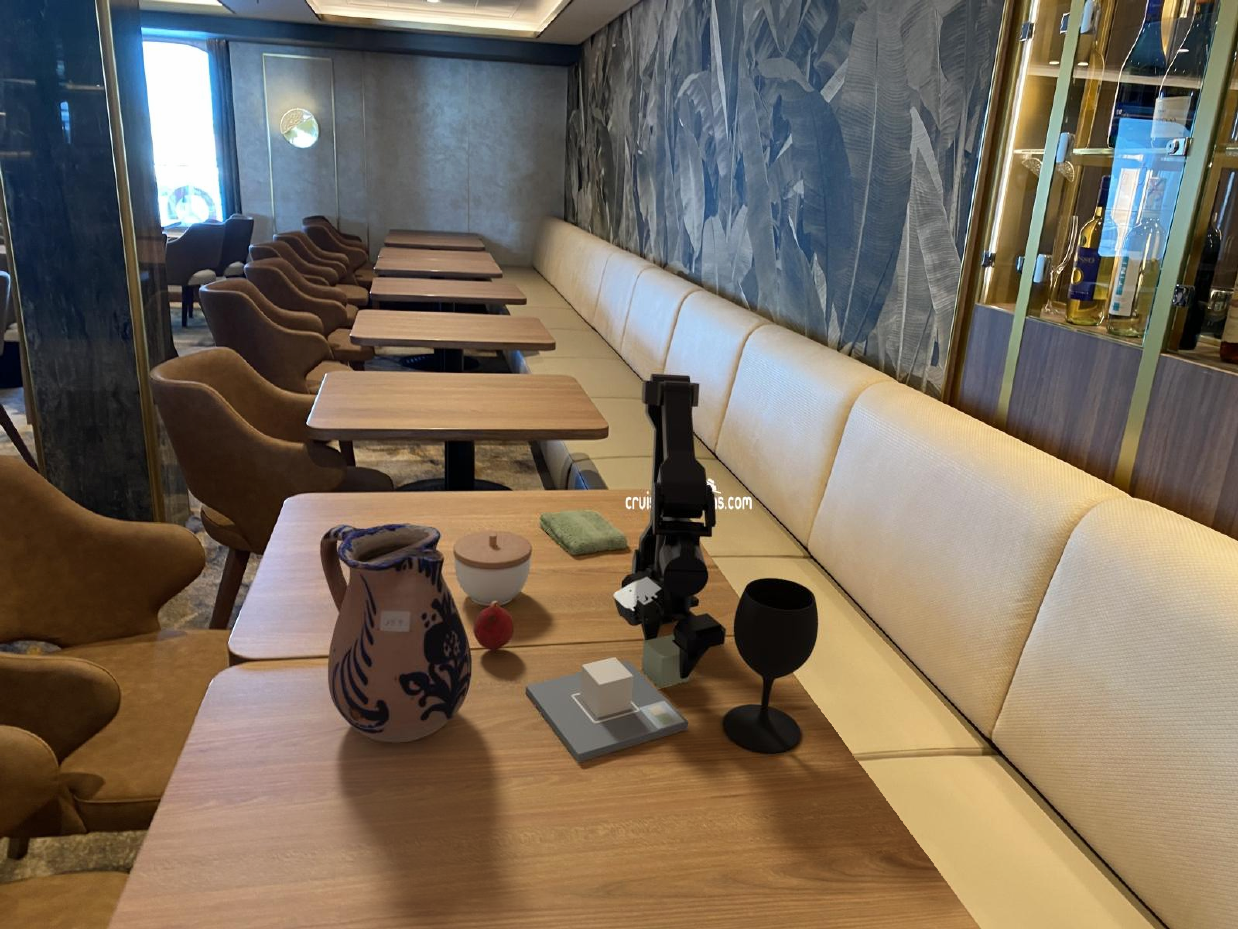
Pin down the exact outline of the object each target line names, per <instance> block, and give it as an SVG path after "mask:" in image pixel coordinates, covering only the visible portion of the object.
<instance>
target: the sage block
mask: <svg viewBox="0 0 1238 929" xmlns="http://www.w3.org/2000/svg"><path fill="white" fill-rule="evenodd" d="M672 640H675V637H674V634H668V635H665V636H660V637H657V638H655V639H651V640H646V641H645V640H643V646H642V647H643V648H642V657H641V658H642V659H641V660H642V661H641V672H642V671H643V672H644V673H645V674H646V675H647V676H646V675H645V674H644V673H643V672H642V673H643V674H644V675H645V676H646V677H647V678H648V679H649V678H650V679H649V680H650V682H652V681H653V682H654V683H655V684H656V685H657V686H658V687H657V686H656V685H655V684H654V683H653V682H652V683H653V684H654V685H655V686H656V687H657V688H658V689H659V688H661V689H664V688H663V687H665V688H667V687H666V686H669V687H671V686H670V685H673V686H675V685H674V684H676V685H679V684H678V683H680V684H682V682H684V683H687V682H686V681H688V682H690V677H691V676H690V675H691V674H690V675H689V676H688V677H687V678H684V679H681V678H680V671H679V647H678V646H677V645H675V644H674V643H673V642H672Z"/></svg>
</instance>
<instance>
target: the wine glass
mask: <svg viewBox="0 0 1238 929" xmlns="http://www.w3.org/2000/svg"><path fill="white" fill-rule="evenodd" d="M818 632H819V613H818V606H817V600H816V596H815V594H814V593H813V591H812V590H811V589H809V588H808V587H806V586H805V585H802V584H801V583H798V582H796V581H792V580H789V579H783V578H776V577H764V578H758V579H755V580H751V581H750V582H749V583H747V585H746V586H745V588H744V589H743V591H742V593H741V596H740V598H739V601H738V603H737V607H736V611H735V614H734V620H733V638H734V643H735V646H736V649H737V651H738V653H739V656H740V657H741V658H742V661H744V662H745V664H746V665H747V666H748V667H749V668H750V669H751V670H752V671H753V672H755V673H756V674H757V675H759V676H760V677H762V694H761V695H762V696H761V700H760V701H761V702H760V704H756V703H755V704H754V703H750V704H748V703H747V704H742V705H738V706H735V707H733V708H731V709H729V710H728V711H727V712H726V713H725V715H724V717H723V718H722V729H723V731H724V735H725V736H726V737H727V738H728V739H729V740H730V741H731V742H732V743H734V744H735V745H736V746H737V747H740V748H741V749H744V750H746V751H750V752H753V753H757V754H762V755H780V754H784V753H788V752H789V751H790V752H791V750H793V749H795V748H796V747H797V746H798V745H799V744H800V741H801V740H802V729H801V727H800V725H799V724H798V723H797V721H796V720H795V719H794V718H793V717H792V716H791V715H790V714H788V713H786V712H785V711H782V710H781V709H779V708H775V707H773V706H769V704H770V697H771V692H772V687H773V684H774V681H775V680H777V679H781V678H783V677H786V676H788V675H791V674H793V673H794V672H796V671H797V670H799V669H801V668H802V666H803V665H804V664H805V663H806V662H807V661H808V660H809V658H810V657H811V655H812V653H813V651H814V649H815V647H816V643H817V640H818Z"/></svg>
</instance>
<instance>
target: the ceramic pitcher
mask: <svg viewBox="0 0 1238 929" xmlns="http://www.w3.org/2000/svg"><path fill="white" fill-rule="evenodd" d="M441 536H442V535H441V533H440V531H439V529H437V528H436V527H432V526H426V525H419V524H411V523H407V522H406V523H389V524H388V523H387V524H384V525H376V526H372V527H368V528H358V527H354V526H353V525H350V524H349V525H348V524H338V525H336V526H333V527H331V528H330V529H329V530H328V531H326V532H325V534H324V535H323V536H322V538H321V540H320V543H319V544H320V546H319V548H320V549H319V551H320V552H319V555H320V561H321V566H322V570H323V573H324V577H325V580H326V583H327V586H328V590H329V592H330V595H331V598H332V600H333V602H334V605H335V607H336V609H337V611H338V615H337V618H336V622H335V625H334V628H333V633H332V638H331V641H330V645H329V651H328V661H327V685H328V690H329V694H330V698H331V701H332V703H333V705H334V707H336V709H337V711H338V713H339V714H340V716H341V717H342V718H343V719H344V720H345V721H346V722H347V723H348V724H349V725H350V726H351V727H352V728H353V729H354V730H355V731H356V732H358V733H360V734H362V735H364V736H365V737H367V738H370V739H372V740H375V741H379V742H386V743H402V742H403V743H404V742H411V741H414V740H415V741H416V740H420V739H421V738H425V737H427V736H429V735H431V734H433V733H435V732H436V731H438V730H439V729H441V728H442V727H443V726H445V725H446V724H448V723H449V722H450V721H451V720H452V719H453V718H454V717H455V716H456V715H457V713H458V712H459V710H460V709H461V707H462V706H463V704H464V701H465V700H466V697H467V695H468V693H469V689H470V684H471V679H472V668H473V667H472V666H473V664H472V663H473V661H472V660H473V659H472V652H471V648H470V647H471V646H470V642H469V639H468V638H469V637H468V635H467V632H466V629H465V626H464V623H463V621H462V618H461V614H460V613H459V610H458V608H457V605H456V603H455V599H454V597H453V593H452V592H451V589H450V588H449V587H448V586H449V585H448V584H447V582H446V581H445V578H444V575H443V572H442V571H443V567H444V562H445V558H444V555H443V553H442V552H441V551H439V550H438V549H437V547H438V543H439V541H440V539H441ZM339 541H340V543H339V545H338V542H339ZM341 562H342V563H344V565H345V566H346V567H348V569H349V579H348V583H347V580H346V577H345V576H344V571H343V569H342V566H341Z"/></svg>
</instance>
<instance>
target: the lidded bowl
mask: <svg viewBox="0 0 1238 929" xmlns="http://www.w3.org/2000/svg"><path fill="white" fill-rule="evenodd" d="M532 548H533V547H532V544H531V542H530V541H529V540H528V539H527V538H526V537H524V536H522V535H519V534H517V533H513V532H509V531H502V530H483V531H476V532H472V533H468V534H466V535H463V536H462V537H460V538H459V539H457V540H456V542H454V544H453V556H454V559H453V560H454V570H455V576H456V580H457V582H458V584H459V587H460V588H461V589H462V590H461V591H463V592H464V593H465V595H467V596H468V597H470V598H469V599H470V600H471V601H472V602H474V603H475V604H478V605H481V606H486V607H489V606H490V605H491V603H492V602H493V601H498V602H499V603H500V604H499V606H503V605H506V604H508V603H510V602H511V601H512V600H513V599H514V597H515V596H517V595H518V594H519V593H520V592H521V591H522V590H523V588H524V586H525V585H526V583H527V581H528V577H529V574H530V568H531V556H532V553H533V552H532V550H533V549H532Z"/></svg>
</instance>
